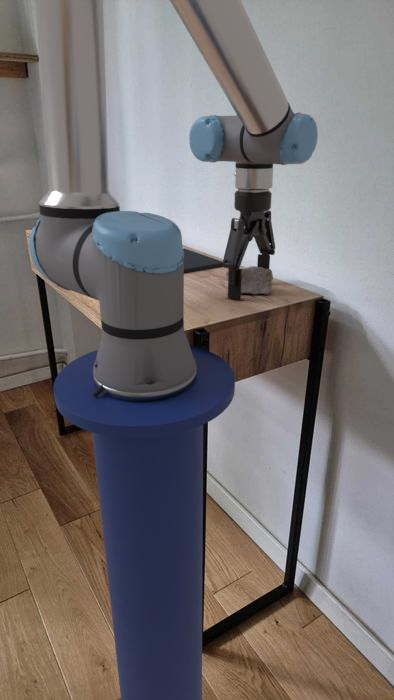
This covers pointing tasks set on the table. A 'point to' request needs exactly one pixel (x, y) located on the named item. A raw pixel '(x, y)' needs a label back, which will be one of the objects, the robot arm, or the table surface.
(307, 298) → the table surface
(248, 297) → the table surface
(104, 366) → the robot arm
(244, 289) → the stone
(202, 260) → the edge mat
